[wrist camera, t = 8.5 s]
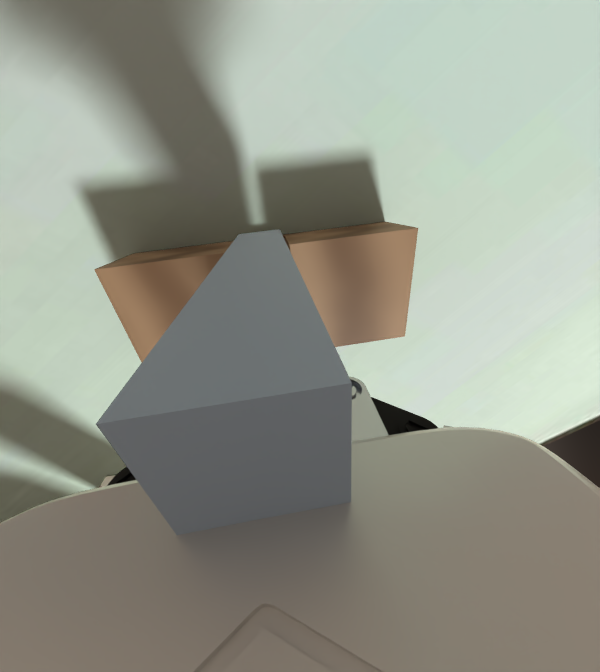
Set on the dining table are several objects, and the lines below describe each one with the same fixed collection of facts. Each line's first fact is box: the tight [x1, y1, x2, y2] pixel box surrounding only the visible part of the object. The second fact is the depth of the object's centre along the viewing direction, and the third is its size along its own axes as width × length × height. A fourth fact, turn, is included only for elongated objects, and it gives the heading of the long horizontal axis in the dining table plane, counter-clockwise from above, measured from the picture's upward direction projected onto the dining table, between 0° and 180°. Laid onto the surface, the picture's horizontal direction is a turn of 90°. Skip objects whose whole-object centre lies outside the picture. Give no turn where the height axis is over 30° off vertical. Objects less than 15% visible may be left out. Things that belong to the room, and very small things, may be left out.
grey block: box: [96, 229, 352, 535], centre depth 11 cm, size 2×10×14 cm, turn 5°
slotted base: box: [95, 222, 418, 362], centre depth 19 cm, size 20×8×5 cm, turn 96°
